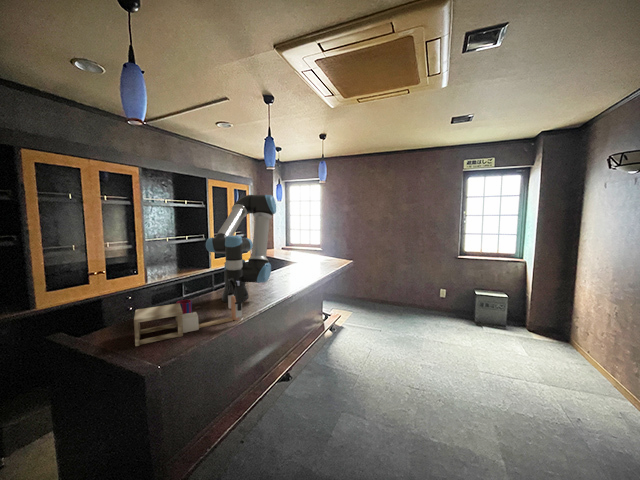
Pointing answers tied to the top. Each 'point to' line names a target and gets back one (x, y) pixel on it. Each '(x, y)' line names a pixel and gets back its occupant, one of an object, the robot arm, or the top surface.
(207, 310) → the top surface
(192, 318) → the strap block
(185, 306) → the mug
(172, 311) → the wooden holder
